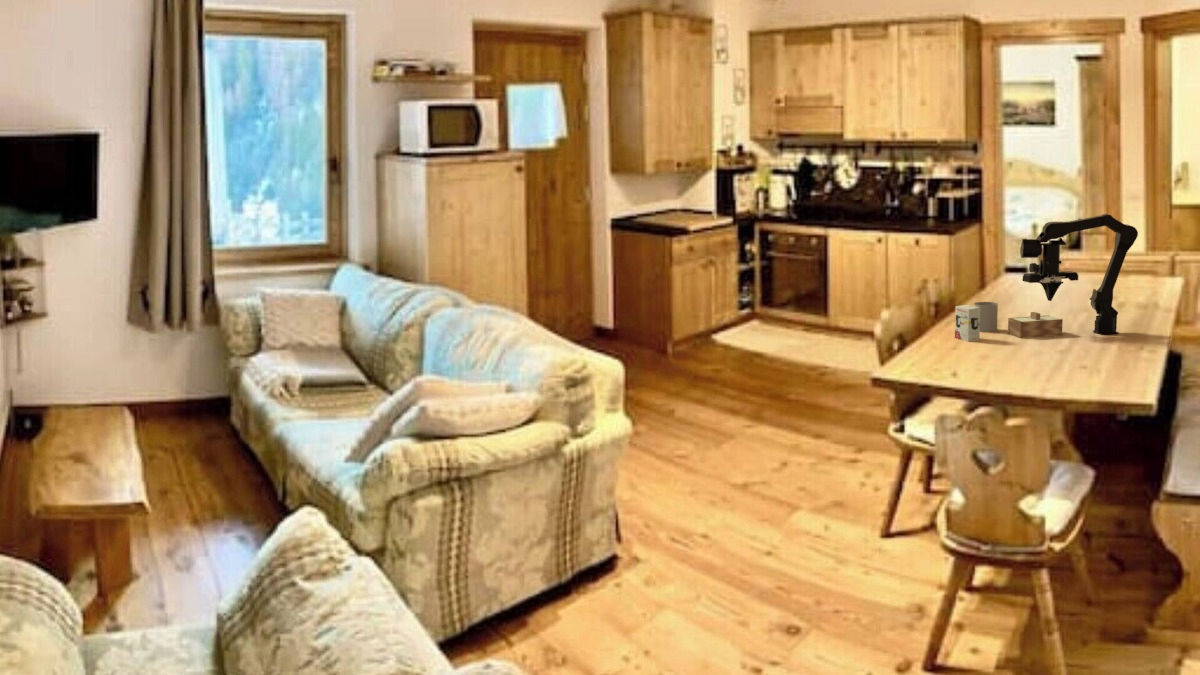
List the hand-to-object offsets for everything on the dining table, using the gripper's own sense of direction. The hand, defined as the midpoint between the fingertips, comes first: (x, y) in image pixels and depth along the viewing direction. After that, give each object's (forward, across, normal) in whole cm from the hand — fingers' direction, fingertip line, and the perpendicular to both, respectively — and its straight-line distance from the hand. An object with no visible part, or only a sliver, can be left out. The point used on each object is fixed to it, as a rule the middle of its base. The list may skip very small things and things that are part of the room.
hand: (1049, 300), depth 433 cm
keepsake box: (+12, +6, 0) cm, 13 cm away
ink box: (+12, +32, 0) cm, 34 cm away
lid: (+7, +5, 0) cm, 9 cm away
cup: (+12, +17, -14) cm, 25 cm away
